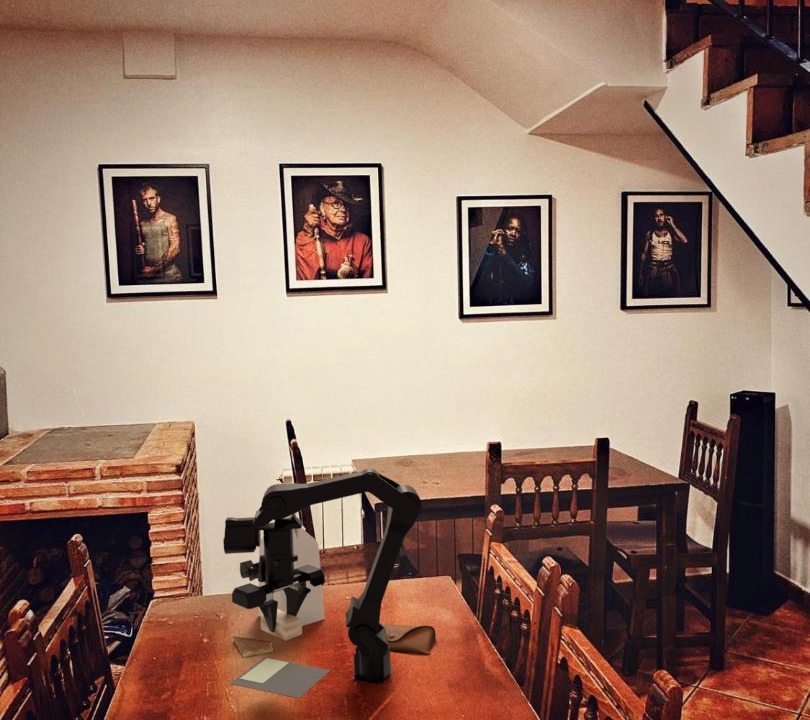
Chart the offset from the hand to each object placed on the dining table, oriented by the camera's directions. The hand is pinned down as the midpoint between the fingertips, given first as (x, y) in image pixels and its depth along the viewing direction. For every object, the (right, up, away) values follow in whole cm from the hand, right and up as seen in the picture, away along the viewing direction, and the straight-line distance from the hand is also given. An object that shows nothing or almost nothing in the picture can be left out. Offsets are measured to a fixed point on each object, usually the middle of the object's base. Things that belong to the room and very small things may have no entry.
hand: (281, 628), depth 151 cm
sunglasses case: (+22, -10, +17) cm, 30 cm away
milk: (-3, -10, +34) cm, 35 cm away
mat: (-1, -11, +3) cm, 12 cm away
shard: (-10, -11, +16) cm, 22 cm away
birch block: (0, -1, 0) cm, 1 cm away
